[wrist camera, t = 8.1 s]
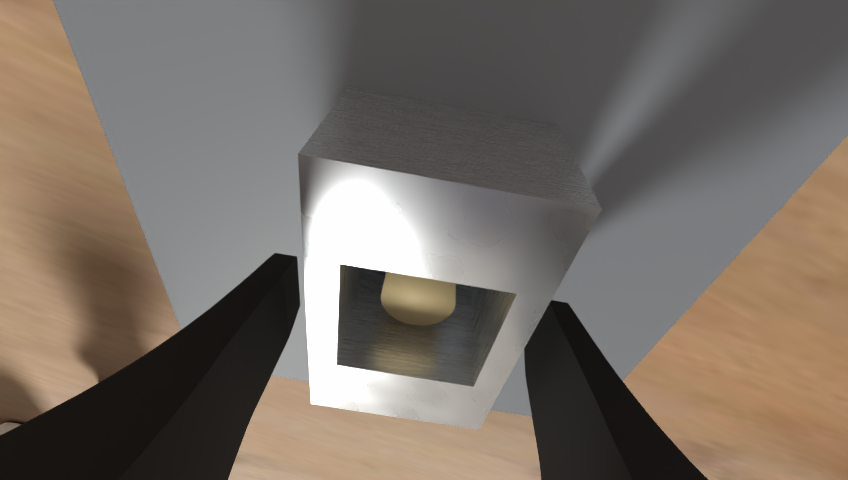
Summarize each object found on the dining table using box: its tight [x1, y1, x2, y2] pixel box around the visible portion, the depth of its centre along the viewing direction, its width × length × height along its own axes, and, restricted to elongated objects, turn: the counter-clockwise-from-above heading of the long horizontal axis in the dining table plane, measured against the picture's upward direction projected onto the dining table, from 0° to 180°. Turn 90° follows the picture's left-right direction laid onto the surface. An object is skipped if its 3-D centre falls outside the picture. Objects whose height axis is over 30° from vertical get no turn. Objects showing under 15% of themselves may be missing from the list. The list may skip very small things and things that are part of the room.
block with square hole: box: [298, 85, 602, 430], centre depth 11 cm, size 6×9×4 cm, turn 171°
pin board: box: [53, 0, 848, 416], centre depth 13 cm, size 20×20×4 cm
